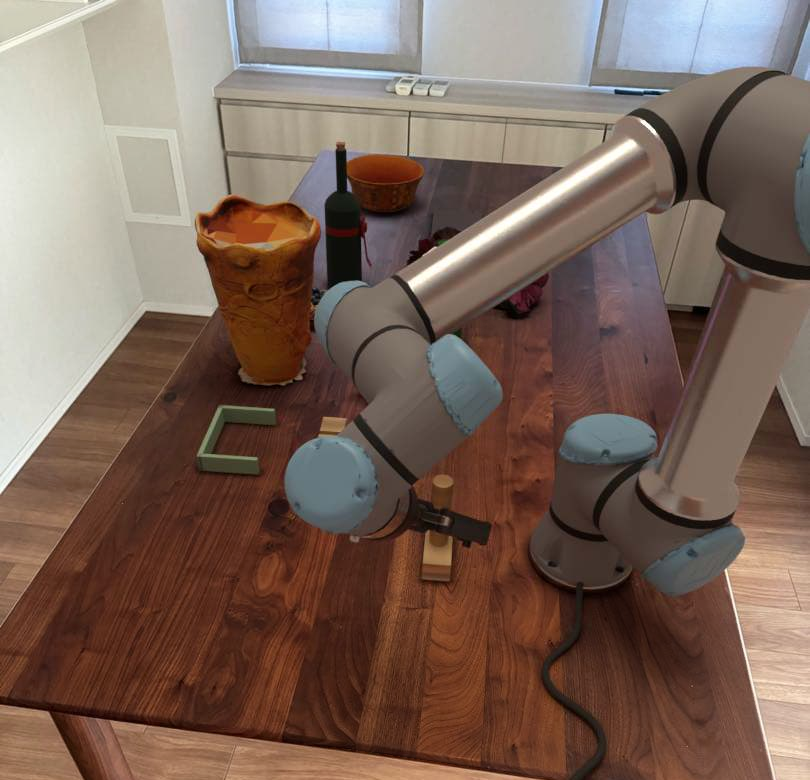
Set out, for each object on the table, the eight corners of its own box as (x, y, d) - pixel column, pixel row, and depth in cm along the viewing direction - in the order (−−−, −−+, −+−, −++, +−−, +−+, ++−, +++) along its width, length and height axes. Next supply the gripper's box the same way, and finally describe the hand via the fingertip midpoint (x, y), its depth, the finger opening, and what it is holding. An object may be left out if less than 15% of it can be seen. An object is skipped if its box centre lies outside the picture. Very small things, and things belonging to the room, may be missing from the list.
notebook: (433, 214, 209) (429, 248, 194) (433, 208, 208) (430, 242, 192) (481, 216, 209) (481, 251, 193) (482, 210, 207) (482, 244, 192)
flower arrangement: (398, 310, 170) (399, 241, 160) (410, 270, 185) (412, 205, 174) (544, 323, 168) (554, 254, 158) (545, 281, 182) (555, 216, 172)
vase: (201, 397, 145) (171, 235, 124) (233, 341, 159) (211, 188, 138) (314, 408, 143) (303, 246, 122) (336, 351, 158) (330, 197, 137)
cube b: (344, 451, 134) (343, 432, 131) (320, 449, 134) (319, 430, 132) (347, 437, 137) (346, 418, 134) (324, 435, 137) (323, 416, 134)
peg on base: (449, 581, 113) (456, 506, 103) (421, 579, 113) (426, 504, 103) (452, 533, 120) (459, 459, 110) (426, 531, 120) (430, 457, 110)
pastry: (276, 325, 164) (274, 299, 160) (299, 299, 173) (297, 274, 169) (326, 334, 162) (325, 308, 158) (346, 308, 171) (345, 282, 167)
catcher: (258, 474, 129) (256, 460, 127) (199, 470, 130) (196, 456, 127) (276, 422, 140) (274, 408, 138) (221, 419, 140) (219, 404, 138)
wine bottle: (370, 295, 175) (369, 151, 154) (324, 292, 176) (317, 148, 155) (374, 279, 181) (374, 138, 160) (329, 276, 181) (324, 135, 160)
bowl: (437, 202, 215) (439, 164, 208) (395, 229, 201) (396, 188, 195) (373, 186, 222) (373, 148, 215) (328, 210, 209) (327, 170, 202)
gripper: (248, 507, 80) (317, 523, 101) (486, 571, 74) (507, 574, 95) (267, 435, 80) (332, 466, 101) (507, 494, 74) (523, 513, 95)
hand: (417, 518), depth 98 cm, fingers open, 13 cm apart
